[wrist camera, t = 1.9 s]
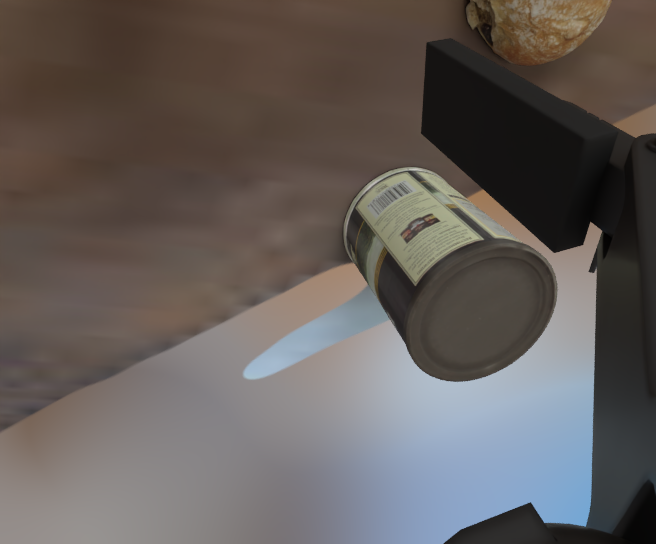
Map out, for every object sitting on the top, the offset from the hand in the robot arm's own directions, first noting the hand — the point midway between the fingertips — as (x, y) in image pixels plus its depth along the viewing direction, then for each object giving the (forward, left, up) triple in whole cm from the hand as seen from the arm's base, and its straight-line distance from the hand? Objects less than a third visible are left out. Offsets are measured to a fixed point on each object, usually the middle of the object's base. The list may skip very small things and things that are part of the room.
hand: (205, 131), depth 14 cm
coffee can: (+18, -13, -24) cm, 32 cm away
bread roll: (+24, +6, -24) cm, 34 cm away
